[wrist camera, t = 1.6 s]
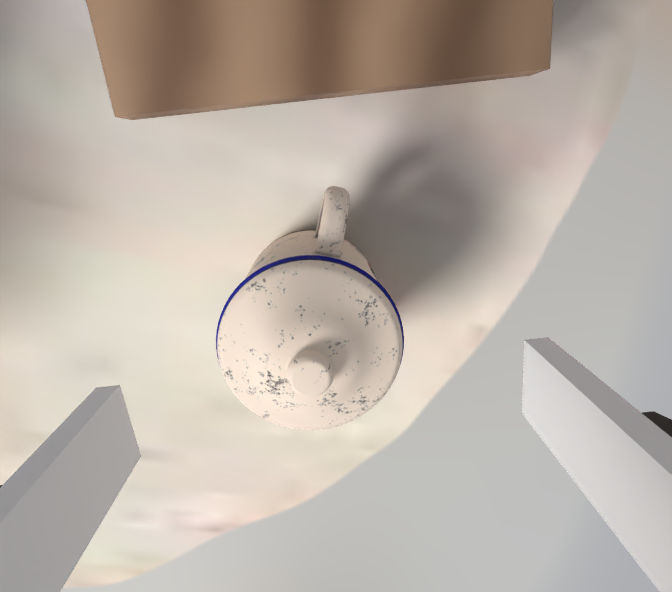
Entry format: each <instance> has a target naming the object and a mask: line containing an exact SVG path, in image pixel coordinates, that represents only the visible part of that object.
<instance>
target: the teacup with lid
mask: <svg viewBox="0 0 672 592" xmlns="http://www.w3.org/2000/svg"><path fill="white" fill-rule="evenodd" d="M349 202H350V198H349V194H348V192H347V190H345V189H344V188H340V187H335V186H331V187H329V188H327V190H326V191H325V193H324V196H323V200H322V204H321V208H320V213H319V218H318V223H317V228H316V231H312V230H311V231H300V232H295V233H291V234H289V235H286V236H284V237H282V238H279V239H278V240H276V241H274V242H273V243H272V244H270V245H269V246H268V247H267V248H266V249H264V250H263V252H262V253H261V254H260V255H259V256H258V258H257V259H256V261H255V262H254V264H253V266H252V268H251V269H250V271H249V273H248V275H247V277H246V279H245V280H244V281H243V282H242V283H240V285H239V286H238V287H237V288H236V289H235V290H234V292H233V293H232V294H231V296H230V297H229V299H228V301H227V302H226V304H225V306H224V308H223V311H222V313H221V316H220V319H219V322H218V327H217V335H216V349H217V356H218V360H219V364H220V368H221V371H222V373H223V376H224V378H225V380H226V382H227V384H228V386H229V387H230V389H231V390H232V392H233V393H234V394H235V396H236V397H237V398H238V399H239V400H240V401H241V402H242V403H243V404H244V405H245V406H246V407H247V408H248V409H250V410H251V411H252V412H254V413H255V414H257V415H258V416H260V417H262V418H263V419H265V420H267V421H270V422H272V423H274V424H277V425H280V426H284V427H287V428H293V429H300V430H320V429H327V428H332V427H336V426H339V425H342V424H345V423H347V422H350V421H352V420H354V419H356V418H358V417H360V416H361V415H363V414H364V413H366V412H367V411H368V410H370V409H371V408H372V407H373V406H374V405H376V404H377V403H378V402H379V401H380V400H381V398H382V397H383V396H384V395H385V394H386V392H387V391H388V390H389V388H390V387H391V385H392V383H393V381H394V379H395V377H396V375H397V373H398V370H399V367H400V364H401V360H402V355H403V348H404V335H403V327H402V322H401V319H400V315H399V312H398V310H397V308H396V306H395V304H394V302H393V300H392V299H391V297H390V295H389V294H388V293H387V291H386V290H385V289H384V288H383V286H382V285H381V284H380V283H379V282H378V280H377V278H376V276H375V274H374V272H373V270H372V268H371V266H370V264H369V262H368V261H367V259H366V258H365V256H364V255H363V254H362V253H361V252H360V251H359V250H358V249H357V248H356V247H355V246H354V245H353V244H351V243H350V242H348V241H347V240H345V239H344V235H345V230H346V224H347V218H348V212H349Z"/></svg>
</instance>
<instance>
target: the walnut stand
mask: <svg viewBox="0 0 672 592" xmlns="http://www.w3.org/2000/svg"><path fill="white" fill-rule="evenodd" d="M86 2H87V6H88V10H89V14H90V18H91V22H92V26H93V30H94V34H95V38H96V42H97V46H98V50H99V54H100V58H101V62H102V66H103V70H104V74H105V78H106V82H107V86H108V90H109V94H110V99H111V103H112V107H113V111H114V115H115V117H119V118H125V119H130V120H136V119H145V118H154V117H163V116H172V115H181V114H190V113H199V112H208V111H217V110H226V109H235V108H244V107H252V106H261V105H270V104H279V103H288V102H297V101H306V100H315V99H324V98H333V97H342V96H351V95H360V94H369V93H378V92H387V91H396V90H405V89H414V88H423V87H432V86H441V85H450V84H459V83H468V82H477V81H486V80H495V79H504V78H513V77H522V76H530V75H533V74H536V73H538V72H541V71H544V70H547V69H550V58H551V35H552V13H553V0H86Z"/></svg>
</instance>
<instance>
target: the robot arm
mask: <svg viewBox="0 0 672 592" xmlns="http://www.w3.org/2000/svg"><path fill="white" fill-rule="evenodd" d="M523 373H524V375H523V403H522V414H523V415H524V417H525V418H526V419H527V421H528V422H529V423H530V424H531V426H532V427H533V428H534V430H535V431H536V432H537V433H538V435H539V436H540V437H541V439H542V440H543V441H544V442H545V443H546V445H547V446H548V448H549V449H550V450H551V452H552V453H553V454H554V455H555V457H556V458H557V459H558V461H559V462H560V463H561V464H562V466H563V467H564V468H565V470H566V471H567V472H568V474H569V475H570V476H571V477H572V479H573V480H574V481H575V483H576V484H577V485H578V486H579V488H580V489H581V490H582V492H583V493H584V494H585V495H586V497H587V498H588V500H589V501H590V502H591V503H592V505H593V506H594V507H595V509H596V510H597V511H598V512H599V514H600V515H601V516H602V518H603V519H604V520H605V522H606V523H607V524H608V525H609V527H610V528H611V529H612V530H613V532H614V533H615V534H616V536H617V537H618V538H619V540H620V541H621V542H622V543H623V545H624V546H625V547H626V549H627V550H628V551H629V553H630V554H631V555H632V557H633V558H634V559H635V560H636V562H637V563H638V564H639V566H640V567H641V568H642V569H643V571H644V572H645V573H646V575H647V576H648V577H649V579H650V580H651V581H652V582H653V584H654V585H655V586H656V588H657V589H658V590H659V592H672V420H671V419H669V418H667V417H664V416H662V415H660V414H658V413H656V412H645V413H641V412H639V411H638V410H637V409H636V408H635V407H633V406H632V405H631V404H630V403H628V402H627V401H626V400H625V399H623V398H622V397H621V396H620V395H619V394H617V393H616V392H615V391H614V390H612V389H611V388H610V387H609V386H607V385H606V384H605V383H604V382H603V381H601V380H600V379H599V378H598V377H596V376H595V375H594V374H593V373H592V372H590V371H589V370H588V369H587V368H585V367H584V366H583V365H582V364H580V363H579V362H578V361H577V360H575V359H574V358H573V357H572V356H570V355H569V354H568V353H567V352H565V351H564V350H563V349H562V348H561V347H559V346H558V345H557V344H556V343H555V342H553V341H551V339H549V338H548V337H547V338H538V339H529V340H524V371H523ZM140 457H141V455H140V452H139V448H138V445H137V441H136V438H135V435H134V431H133V428H132V425H131V421H130V418H129V415H128V411H127V408H126V404H125V401H124V398H123V394H122V391H121V388H120V385H116V386H107V387H98V388H95V390H94V391H93V392H92V393H91V394H90V395H89V396H88V397H87V398H86V399H85V400H84V401H83V402H82V403H81V404H80V405H79V406H78V407H77V408H76V409H75V410H74V411H73V412H72V414H71V415H70V416H69V417H68V418H67V419H66V420H65V421H64V422H63V423H62V424H61V425H60V426H59V427H58V428H57V429H56V430H55V431H54V432H53V433H52V434H51V435H50V436H49V438H48V439H47V440H46V441H45V442H44V443H43V444H42V445H41V446H40V447H39V448H38V449H37V450H36V451H35V452H34V453H33V454H32V455H31V456H30V457H29V458H28V459H27V460H26V461H25V463H24V464H23V465H22V466H21V467H20V468H19V469H18V470H17V471H16V472H15V473H14V474H13V475H12V476H11V477H10V478H9V479H8V480H7V481H6V482H5V483H4V484H3V485H0V592H60V591H61V589H62V588H63V586H64V584H65V582H66V581H67V579H68V577H69V576H70V574H71V572H72V571H73V569H74V567H75V566H76V564H77V562H78V561H79V559H80V557H81V556H82V554H83V552H84V551H85V549H86V547H87V546H88V544H89V542H90V540H91V539H92V537H93V535H94V534H95V532H96V530H97V529H98V527H99V525H100V524H101V522H102V520H103V519H104V517H105V515H106V514H107V512H108V510H109V509H110V507H111V505H112V504H113V502H114V500H115V498H116V497H117V495H118V493H119V492H120V490H121V488H122V487H123V485H124V483H125V482H126V480H127V478H128V477H129V475H130V473H131V472H132V470H133V468H134V467H135V465H136V463H137V462H138V460H139V458H140Z"/></svg>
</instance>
